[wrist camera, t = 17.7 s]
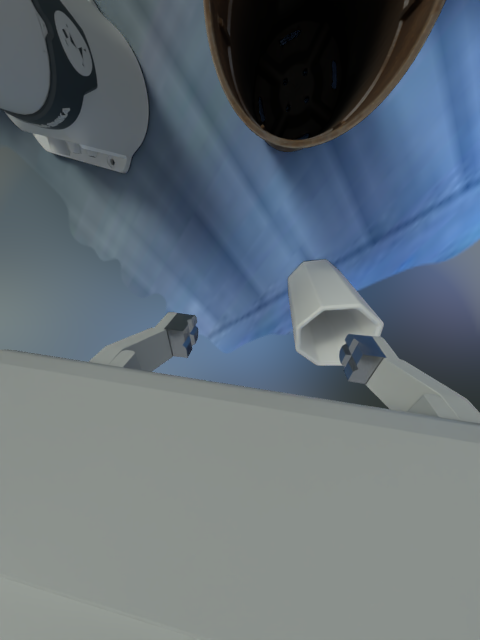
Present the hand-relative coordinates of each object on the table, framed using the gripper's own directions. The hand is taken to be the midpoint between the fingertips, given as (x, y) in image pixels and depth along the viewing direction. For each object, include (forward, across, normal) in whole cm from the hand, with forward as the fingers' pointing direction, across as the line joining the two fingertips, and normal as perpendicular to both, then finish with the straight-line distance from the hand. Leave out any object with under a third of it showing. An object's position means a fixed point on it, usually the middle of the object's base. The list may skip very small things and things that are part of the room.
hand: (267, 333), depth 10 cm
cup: (+31, +10, -9) cm, 34 cm away
